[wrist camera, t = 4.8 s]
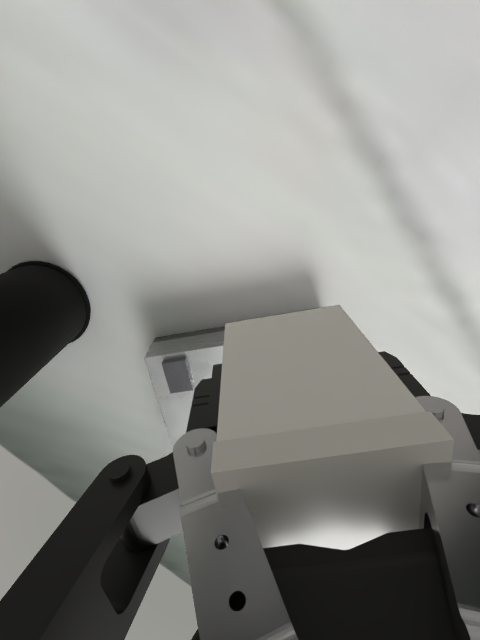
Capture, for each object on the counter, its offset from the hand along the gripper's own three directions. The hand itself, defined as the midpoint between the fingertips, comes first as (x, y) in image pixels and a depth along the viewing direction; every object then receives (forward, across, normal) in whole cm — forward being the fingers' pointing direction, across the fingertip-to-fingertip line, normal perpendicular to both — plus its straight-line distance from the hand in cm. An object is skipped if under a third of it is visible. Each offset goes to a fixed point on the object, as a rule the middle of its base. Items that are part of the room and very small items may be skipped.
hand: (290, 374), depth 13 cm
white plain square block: (+1, 0, 0) cm, 1 cm away
